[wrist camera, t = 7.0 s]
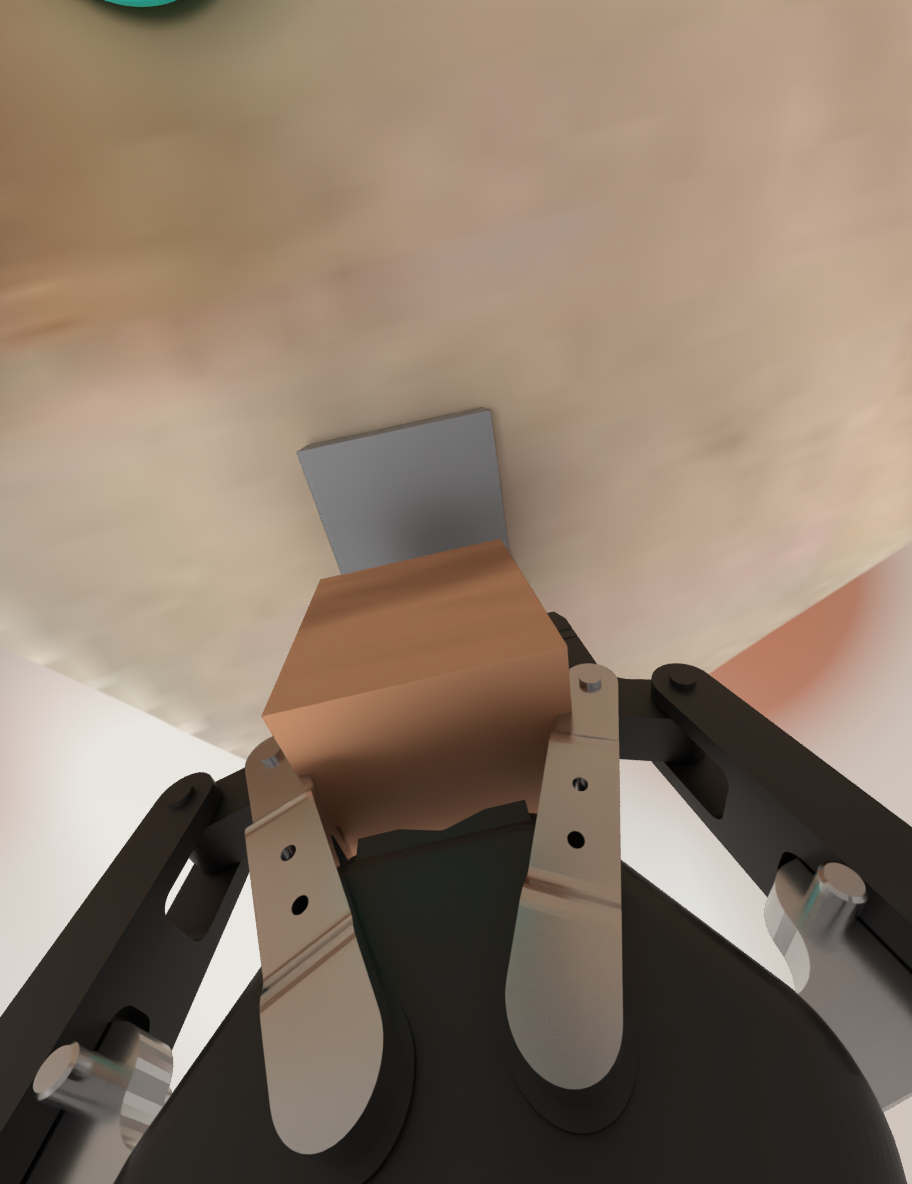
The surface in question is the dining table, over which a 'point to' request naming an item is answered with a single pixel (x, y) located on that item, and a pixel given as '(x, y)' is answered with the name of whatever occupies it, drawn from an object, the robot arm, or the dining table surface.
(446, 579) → the cube
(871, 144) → the dining table surface
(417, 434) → the base
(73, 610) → the dining table surface
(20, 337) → the dining table surface
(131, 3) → the donuts
